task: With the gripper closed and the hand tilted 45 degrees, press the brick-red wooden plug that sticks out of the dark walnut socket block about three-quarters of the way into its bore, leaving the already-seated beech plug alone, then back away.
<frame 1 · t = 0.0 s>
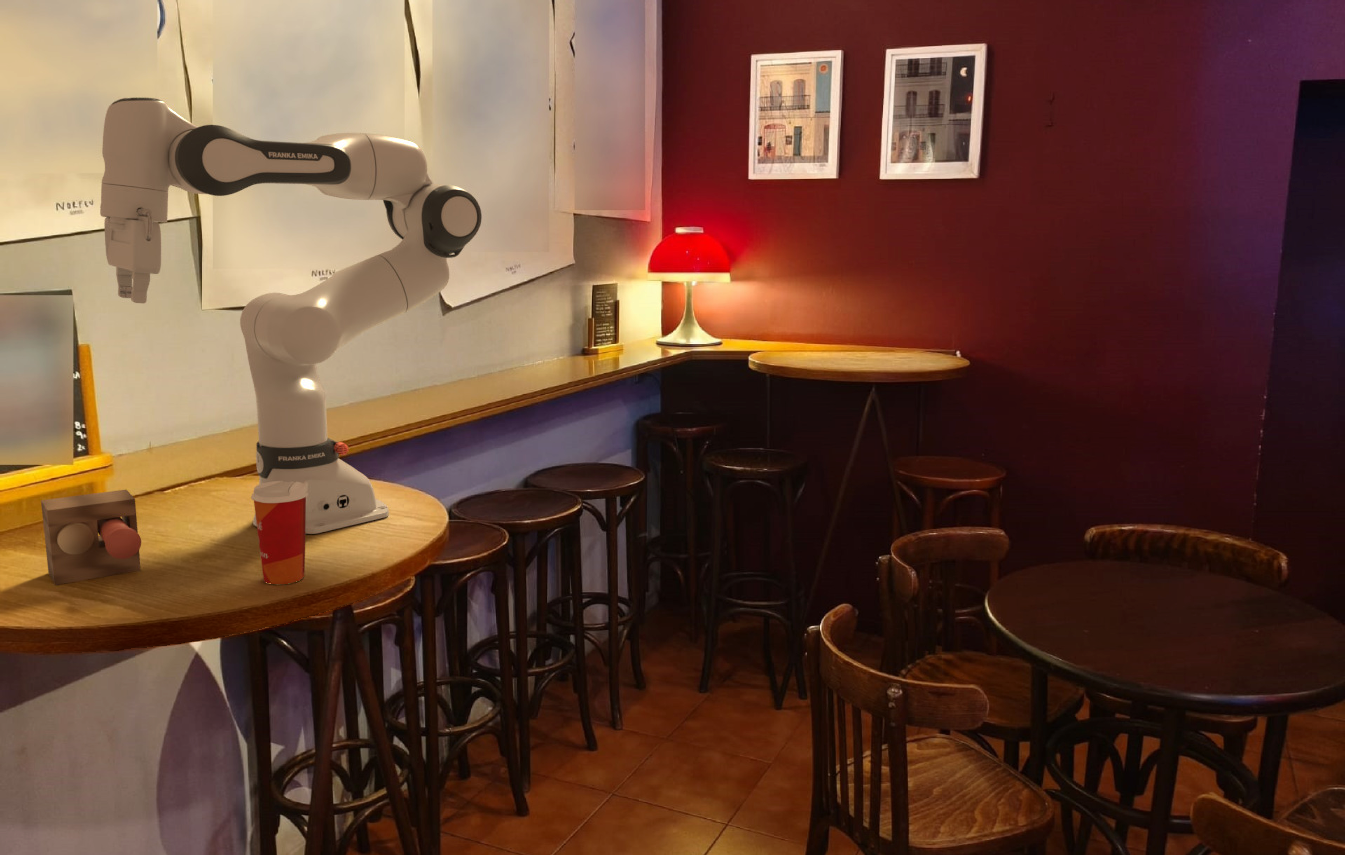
hand: (131, 300, 152), 39 cm above the table, tool pointing down, fingers open, 8 cm apart
red plug: (116, 534, 144), point 7 cm above the table, slide at 0.0 cm
socket block: (95, 571, 147), on the table
paper cup: (284, 579, 147), on the table
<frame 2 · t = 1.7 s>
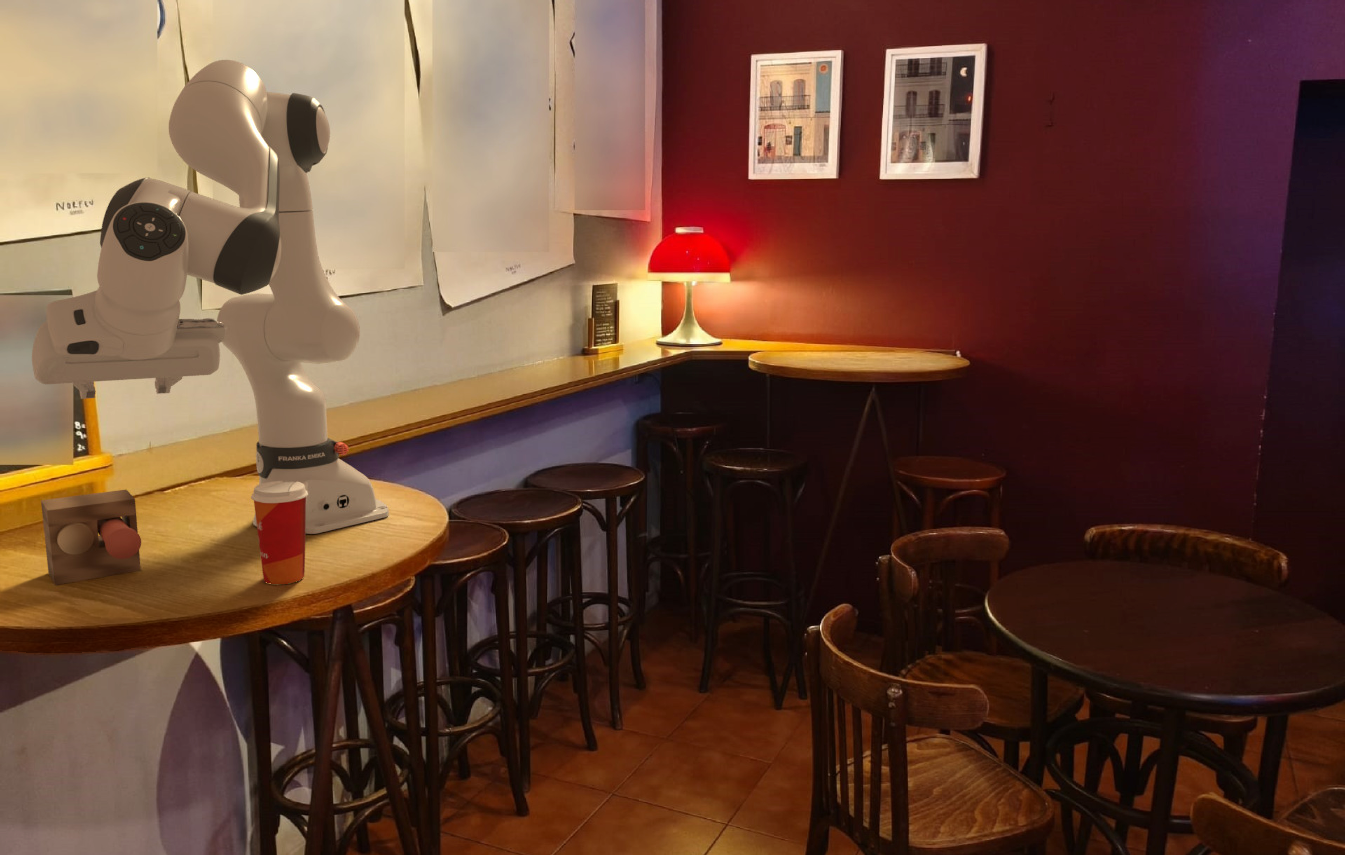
hand: (125, 391, 127), 30 cm above the table, tool tilted 45°, fingers open, 7 cm apart
nothing on the table moved.
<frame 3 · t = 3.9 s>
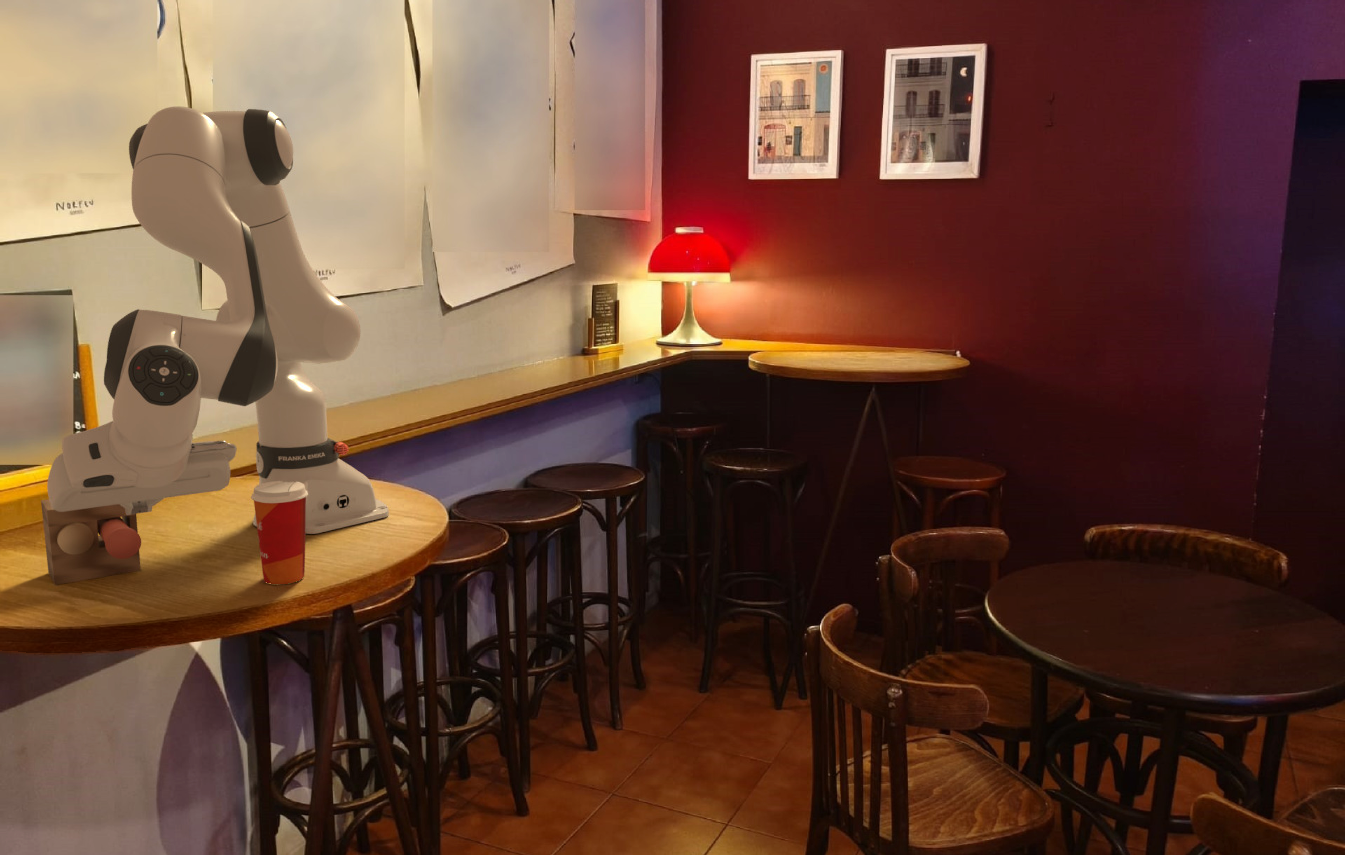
hand: (137, 508, 130), 14 cm above the table, tool tilted 45°, fingers closed
nothing on the table moved.
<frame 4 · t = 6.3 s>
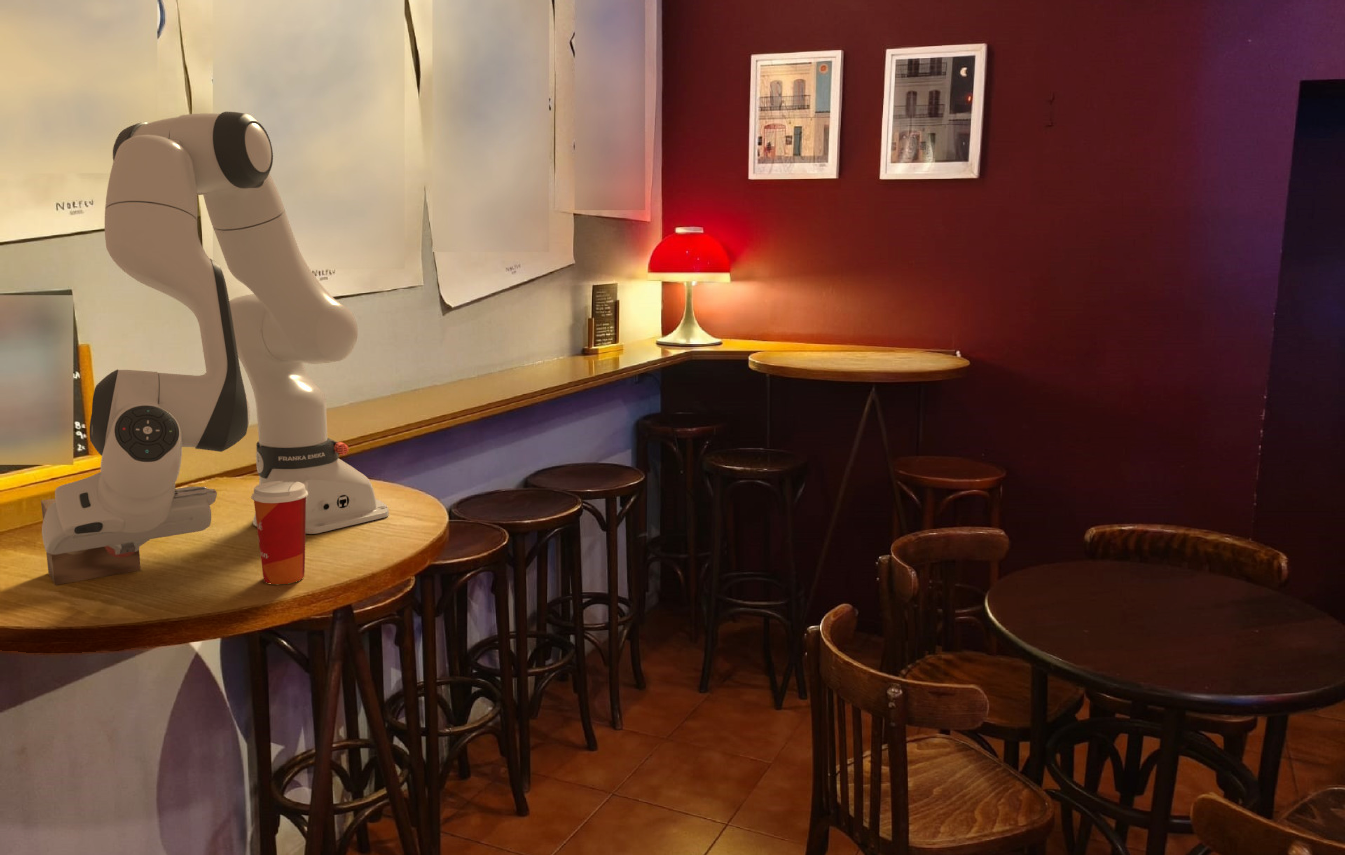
hand: (125, 548, 140), 6 cm above the table, tool tilted 45°, fingers closed, pressing on red plug
red plug: (115, 532, 145), point 7 cm above the table, slide at 0.8 cm, touching gripper
everything else where it was.
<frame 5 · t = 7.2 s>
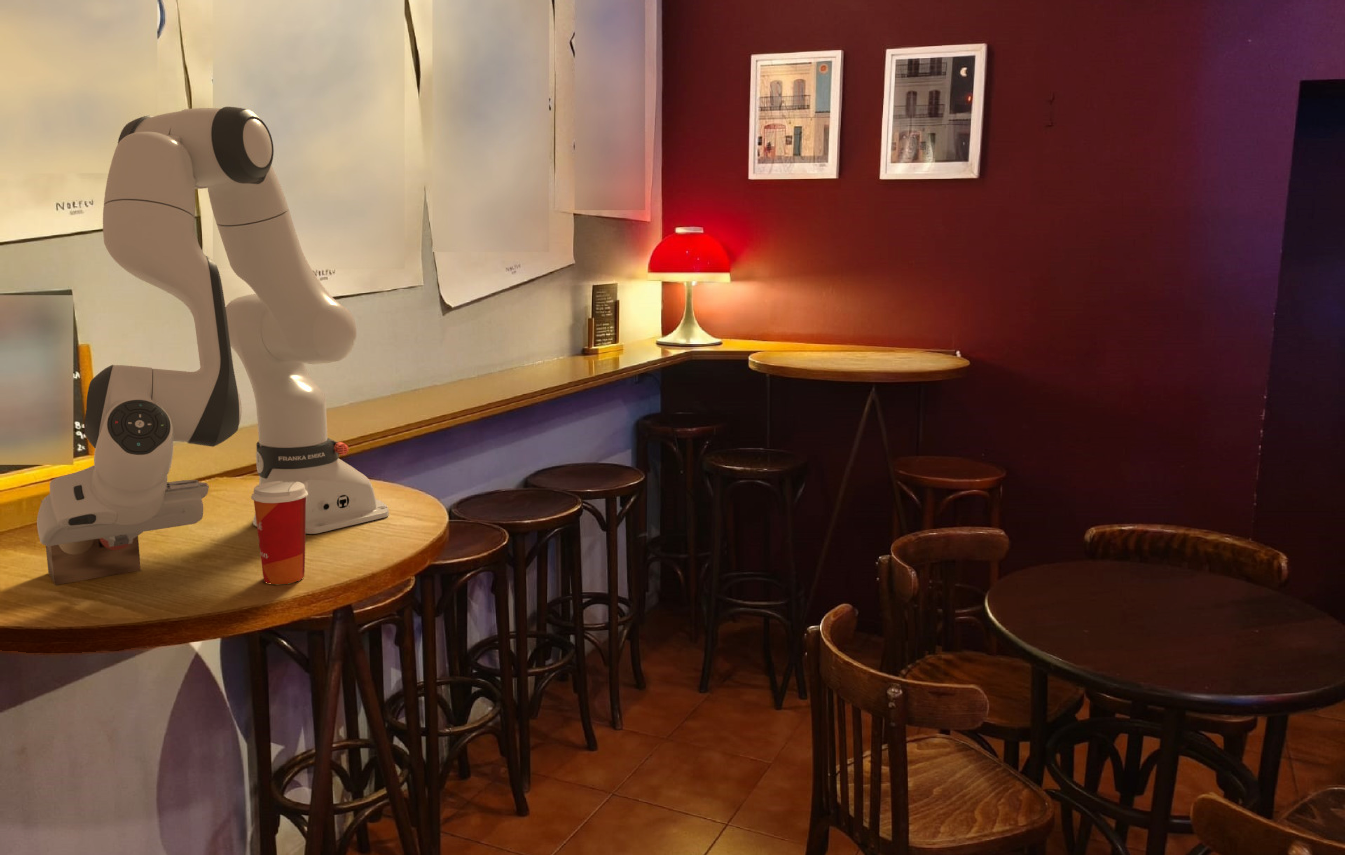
hand: (119, 541, 143), 6 cm above the table, tool tilted 45°, fingers closed, pressing on red plug
red plug: (109, 525, 148), point 7 cm above the table, slide at 4.6 cm, touching gripper
everything else where it was.
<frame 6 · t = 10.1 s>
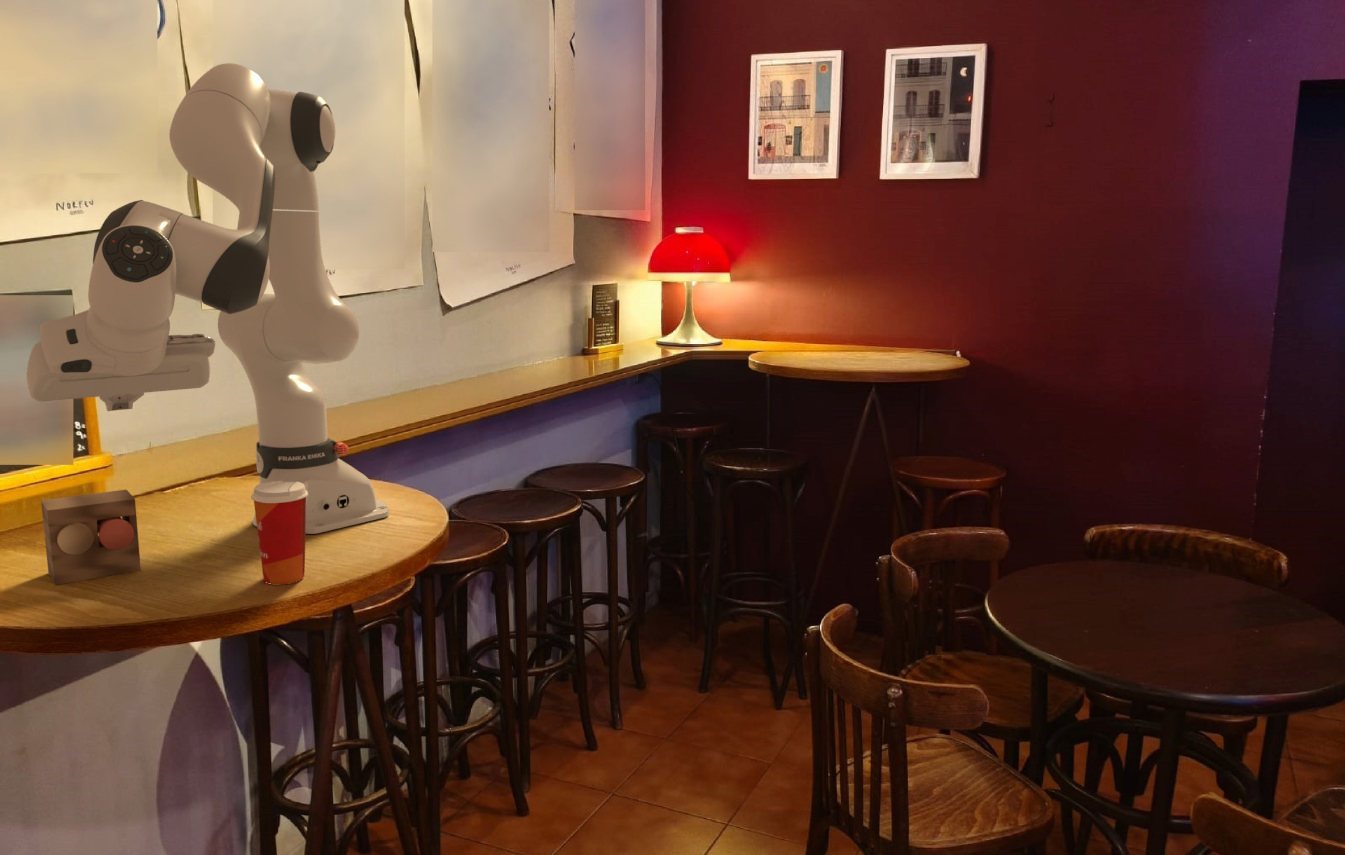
hand: (118, 406, 131), 27 cm above the table, tool tilted 45°, fingers closed
red plug: (109, 525, 148), point 7 cm above the table, slide at 4.7 cm
everything else where it was.
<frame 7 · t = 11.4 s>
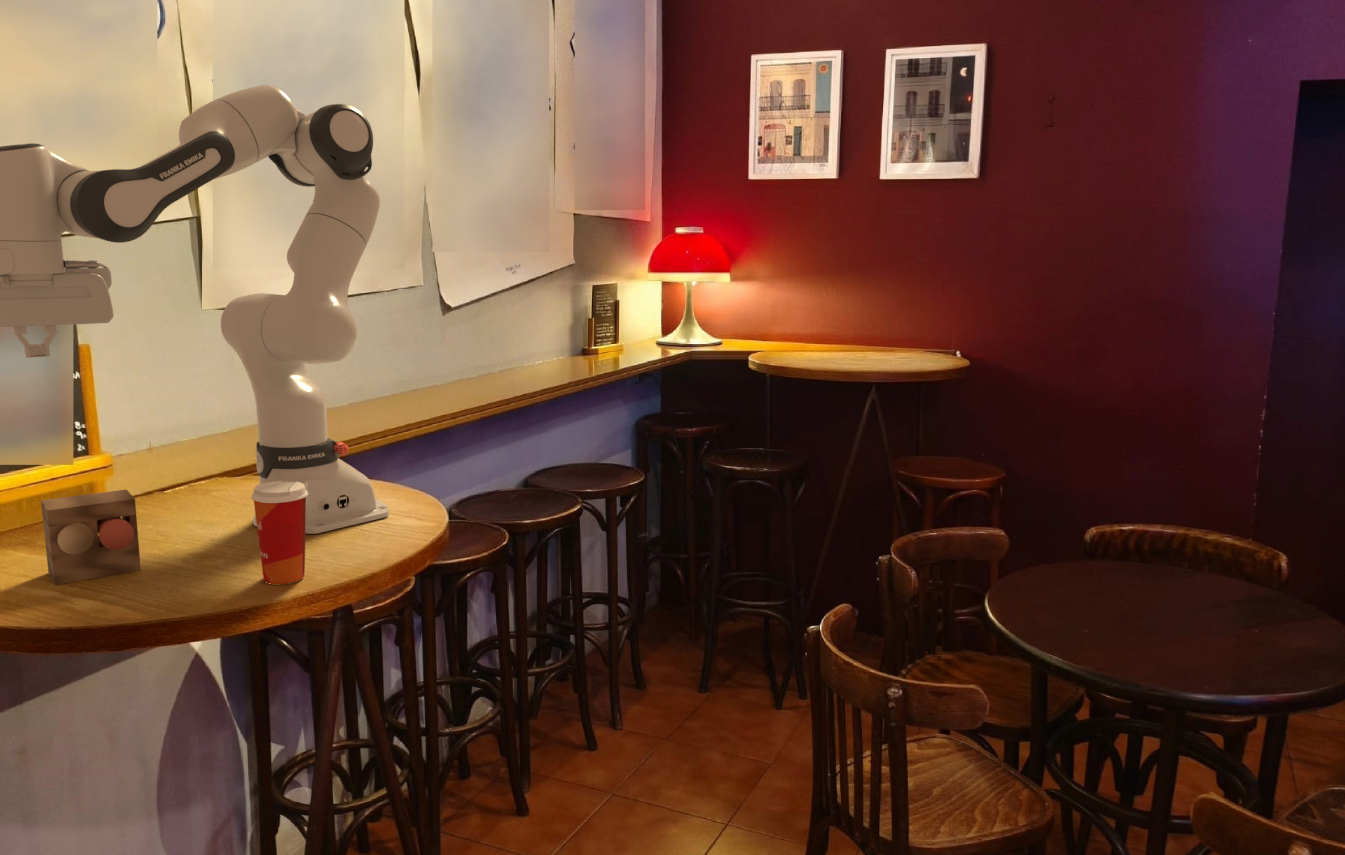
hand: (37, 356, 145), 31 cm above the table, tool pointing down, fingers closed
nothing on the table moved.
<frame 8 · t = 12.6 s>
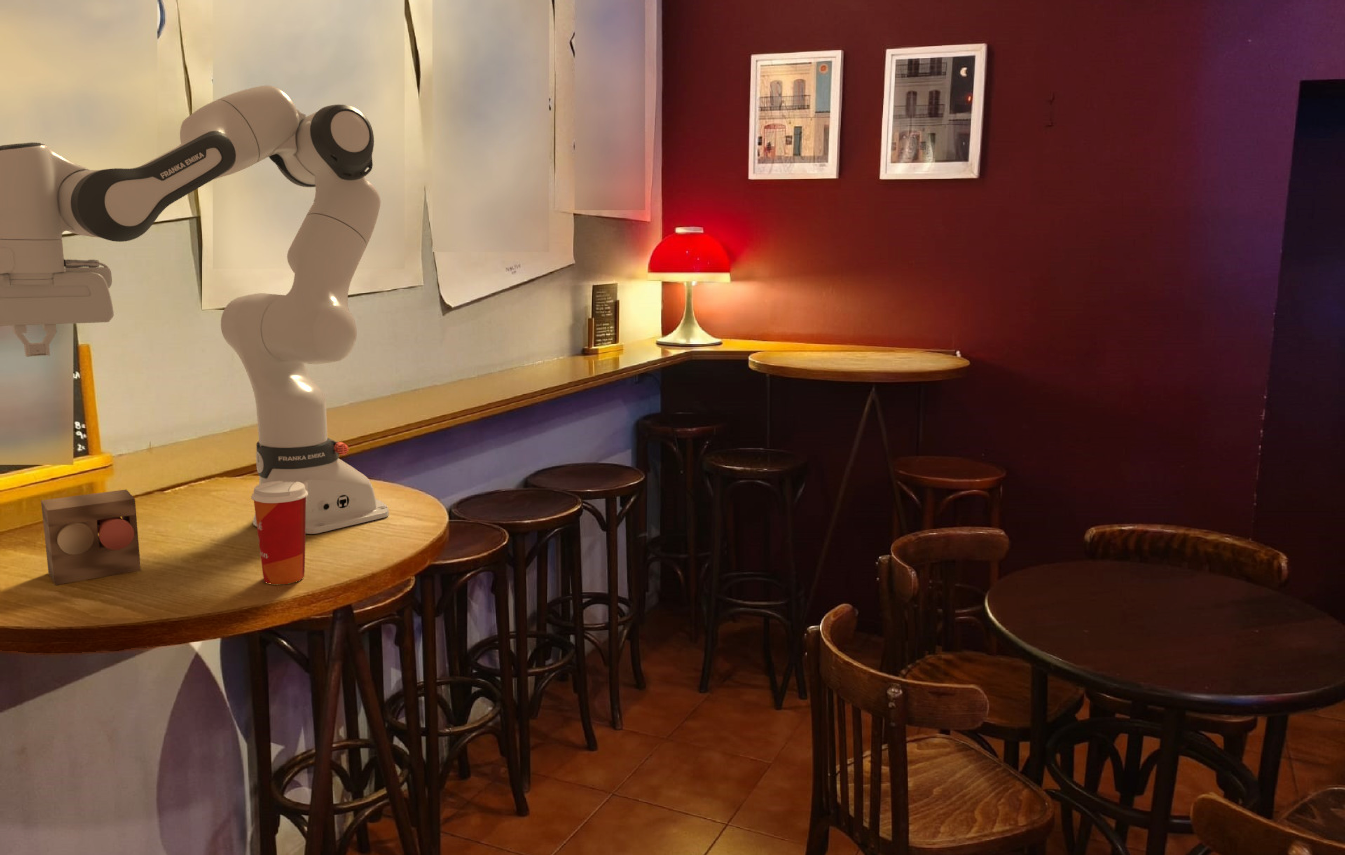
hand: (37, 355, 145), 31 cm above the table, tool pointing down, fingers closed
nothing on the table moved.
at the end: red plug slide at 4.7 cm; the gripper is holding nothing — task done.
